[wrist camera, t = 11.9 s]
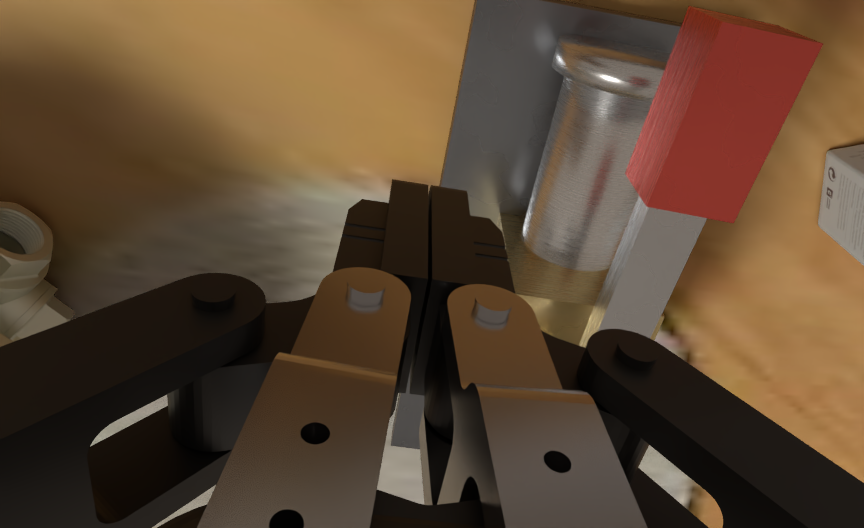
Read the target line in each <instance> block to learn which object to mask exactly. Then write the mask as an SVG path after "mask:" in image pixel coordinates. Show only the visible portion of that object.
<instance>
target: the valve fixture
mask: <svg viewBox="0 0 864 528" xmlns="http://www.w3.org/2000/svg"><path fill="white" fill-rule="evenodd" d="M681 25H682V23H677V22H671V21H666V20H661V19H655V18H650V17H645V16H639V15H634V14H629V13H624V12H618V11H613V10H608V9H602V8H597V7H592V6H587V5H581V4H576V3H571V2H565V1H560V0H475V3H474V8H473V13H472V18H471V23H470V29H469V34H468V39H467V44H466V49H465V55H464V60H463V65H462V70H461V75H460V81H459V86H458V91H457V96H456V102H455V107H454V112H453V117H452V122H451V128H450V133H449V138H448V143H447V148H446V154H445V159H444V164H443V169H442V174H441V180H440V185H439V187H446V188H452V189H458V190H465V191H467V193H468V201H469V209H470V215H471V216H478V217H484V218H490V219H491V220H492V222H493V223H494V224H495V225H496V226H497V227H498V228H499V229H500V230H501V231H502V233H503V237H504V242H505V249H506V251H507V256H508V261H509V265H510V270H511V275H512V280H513V284H514V289H515V294H516V295H518V296H520V297H521V298H522V299H524V300H525V301H526V302H527V303H528V304H529V305H530V306H531V307H532V309H533V311H534V313H535V315H536V318H537V321H538V323H539V326H540V329H541V330H542V331H543V332H545V333H547V334H549V335H551V336H553V337H556V338H558V339H561V340H564V341H567V342H570V343H573V344H576V345H579V343H580V341H581V338H582V336H583V333H584V331H585V328H586V326H587V323H588V321H589V318H590V316H591V313H592V311H593V308H594V306H595V303H596V301H597V299H598V296H599V294H600V291H601V289H602V286H603V284H604V281H605V279H606V276H607V274H608V271H609V269H610V266H611V264H612V261H613V259H614V256H615V254H616V251H617V249H618V246H619V244H620V241H621V239H622V236H623V234H624V231H625V229H626V226H627V224H628V221H629V219H630V216H631V214H632V212H633V209H634V207H635V204H636V202H637V199H638V197H639V194H638V193H637V191H636V190H635V188H634V187H633V185H632V184H631V182H630V181H629V179H628V177H627V176H626V174H625V172H626V169H627V167H628V164H629V161H630V159H631V156H632V154H633V151H634V148H635V146H636V143H637V140H638V138H639V135H640V133H641V130H642V127H643V125H644V122H645V120H646V117H647V114H648V112H649V109H650V106H651V104H652V101H653V99H654V96H655V93H656V91H657V88H658V86H659V83H660V80H661V78H662V75H663V72H664V70H665V67H666V65H667V62H668V59H669V57H670V54H671V51H672V49H673V46H674V44H675V41H676V38H677V36H678V33H679V31H680V28H681ZM664 317H665V316H664V315H663V313H662V315H661V317H660V319H659V321H658V323H657V325H656V327H655V330H654V332H653V334H652V336H651V338H650V339H652V340H655V337H656V335H657V333H658V331H659V328H660V326H661V324H662V322H663V320H664ZM409 392H410V373H409V378H408V383H407V388H406V393H399V398H398V404H397V409H396V414H395V419H394V424H393V430H392V439H391V446H399V447H406V448H414V449H420V441H419V428H420V423H421V419H422V414H423V409H424V396H423V395H415V394H409Z"/></svg>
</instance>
